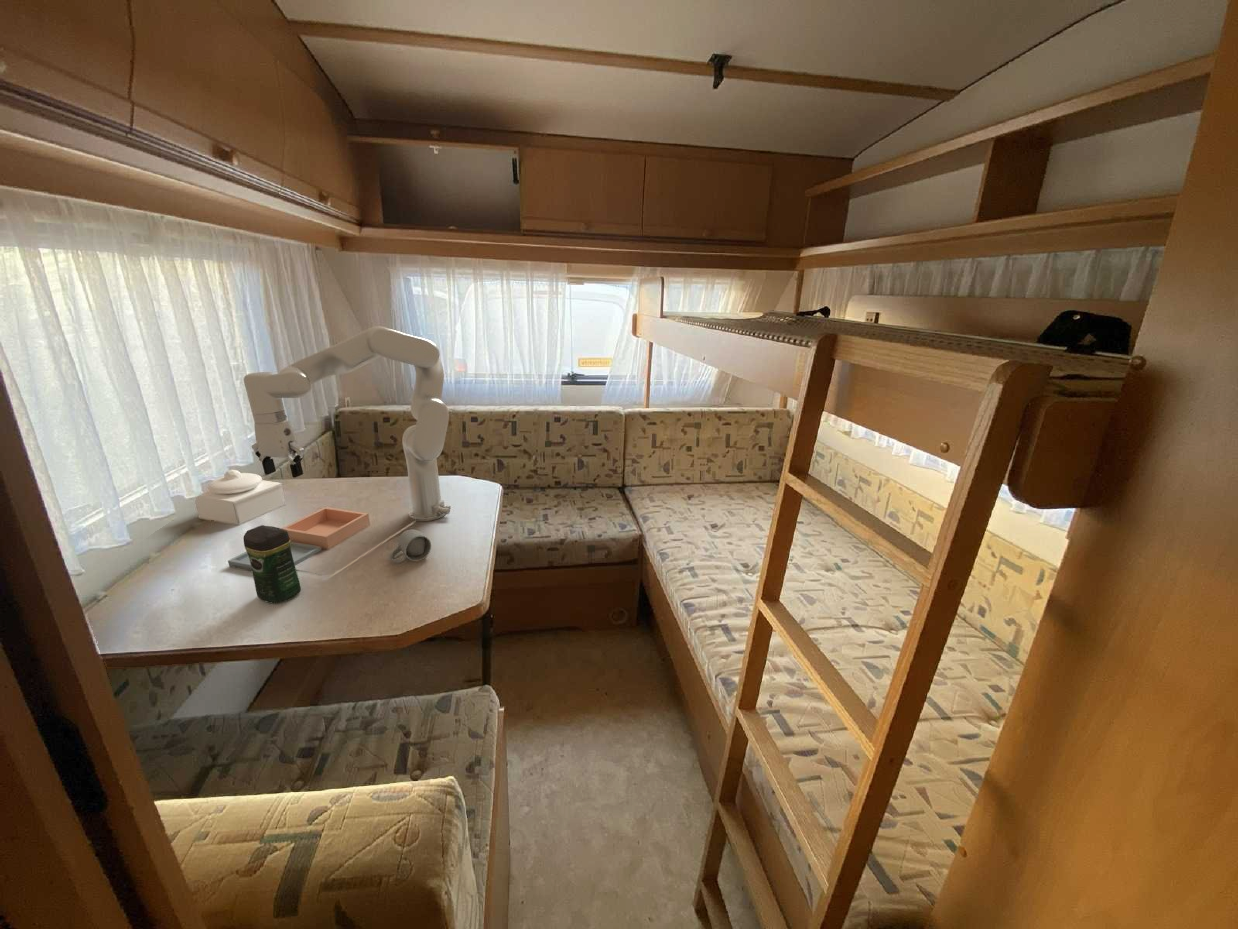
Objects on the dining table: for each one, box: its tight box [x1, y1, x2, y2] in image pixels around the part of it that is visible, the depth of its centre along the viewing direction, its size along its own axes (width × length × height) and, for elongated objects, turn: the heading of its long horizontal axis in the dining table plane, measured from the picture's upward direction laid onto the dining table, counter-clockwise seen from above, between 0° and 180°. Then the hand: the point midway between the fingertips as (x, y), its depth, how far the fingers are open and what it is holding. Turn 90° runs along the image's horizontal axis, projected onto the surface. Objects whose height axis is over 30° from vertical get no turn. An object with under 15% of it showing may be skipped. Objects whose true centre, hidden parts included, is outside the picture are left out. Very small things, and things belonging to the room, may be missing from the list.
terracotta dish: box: [281, 506, 371, 550], centre depth 158 cm, size 17×17×5 cm
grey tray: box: [227, 541, 323, 572], centre depth 144 cm, size 18×14×2 cm
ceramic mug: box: [389, 529, 432, 564], centre depth 146 cm, size 11×8×8 cm
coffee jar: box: [243, 524, 302, 604], centre depth 125 cm, size 10×8×19 cm
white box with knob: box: [194, 469, 287, 526], centre depth 172 cm, size 18×18×16 cm
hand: (284, 474), depth 146 cm, fingers open, 9 cm apart
